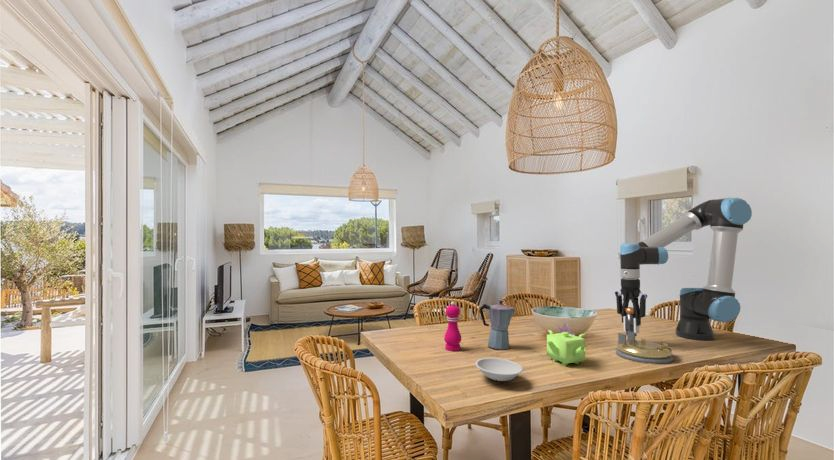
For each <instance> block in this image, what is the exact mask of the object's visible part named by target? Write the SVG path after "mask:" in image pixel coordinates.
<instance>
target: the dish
mask: <svg viewBox="0 0 834 460" xmlns="http://www.w3.org/2000/svg"><path fill="white" fill-rule="evenodd" d="M475 366H476V367H477V369H479V371H480V372H481V373H482V374H483V375H484V376H486V377H487V378H488V379H491V380H493V381H496V380H497V381H496V382H507V381H511V380H513V379H515V378H516V377H517V376H519V375H520V374H521V373H523V370H524V369H523V366H522V365H520V364H519V363H517V362H515V361H513V360H509V359H506V358H500V357H483V358H479V359H477V360H476V361H475Z"/></svg>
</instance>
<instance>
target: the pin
mask: <svg viewBox="0 0 834 460" xmlns="http://www.w3.org/2000/svg"><path fill="white" fill-rule="evenodd" d="M625 313H626V331H625V335H626V336H627V331H630V332H634V318H635V312H634V308H633V306H628V307H626V308H625ZM637 334H638V333H635V338H636V337H637V336H638V335H637Z"/></svg>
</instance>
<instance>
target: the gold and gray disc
mask: <svg viewBox="0 0 834 460" xmlns="http://www.w3.org/2000/svg"><path fill="white" fill-rule="evenodd" d="M617 336H618V337H617V338H618V341H617V343H616V345H617V346H616V348H617V349H618V351H620V352H622V353H624V354H627V355H630V356H634V357H640V358H647V359H667V358H670V357H671V356H672V355H673V354H672V353H673V351H672V348H670V347H669V345H668V344H667V343H665V342H664V343H657V342H654V341H653V342H652V341H648V340H647V341H646V338H641V339H640V340H638V339H637V340H636V337H635V332H630V331H627V335H626V333H620V332H619V333H618V335H617Z"/></svg>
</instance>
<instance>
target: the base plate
mask: <svg viewBox="0 0 834 460" xmlns="http://www.w3.org/2000/svg"><path fill="white" fill-rule="evenodd" d="M615 354H616V356H618V357H619V358H622V359H625V360H627V359H628V360H627V361H631V360H632V362H635V361H637V362H636V363H641V362H644V363H643V364H648V363H658V364H657V365H660V364H659V363H667V364H670V363H669V362H671V363H673V362H674V355H673V354H672V356H671V357H670V358H667V359H647V358H640V357H634V356H630V355H627V354H624V353H622V352H620V351H618V349H617V347H615ZM672 361H673V362H672Z"/></svg>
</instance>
